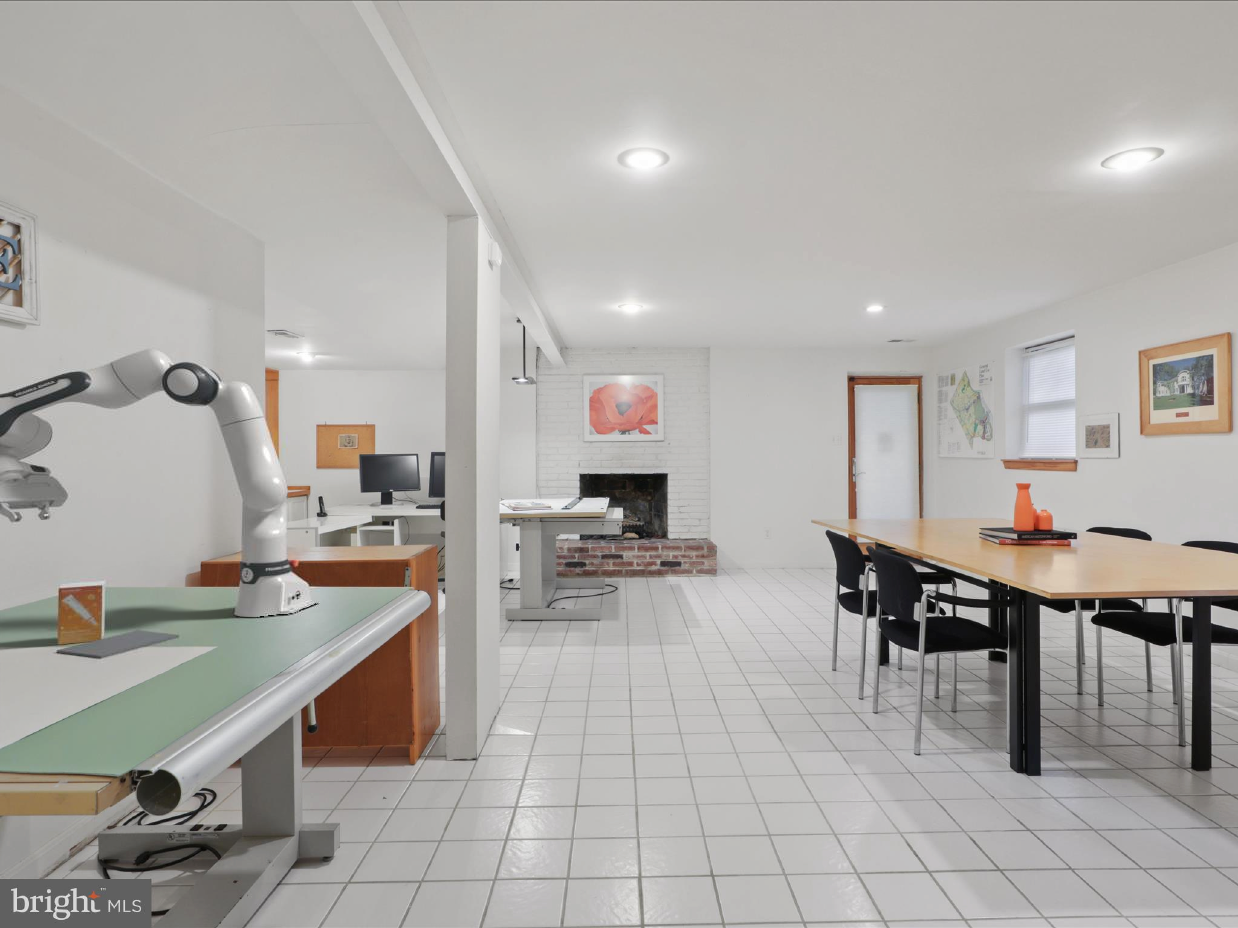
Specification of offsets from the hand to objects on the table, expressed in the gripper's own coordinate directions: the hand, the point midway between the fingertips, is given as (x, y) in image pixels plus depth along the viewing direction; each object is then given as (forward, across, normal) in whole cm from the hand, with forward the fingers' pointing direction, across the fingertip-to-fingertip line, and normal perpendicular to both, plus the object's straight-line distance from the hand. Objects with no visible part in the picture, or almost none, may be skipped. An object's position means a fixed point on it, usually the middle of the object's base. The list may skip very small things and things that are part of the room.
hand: (32, 519), depth 161 cm
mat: (+39, 0, -1) cm, 39 cm away
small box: (+31, 0, +8) cm, 32 cm away
